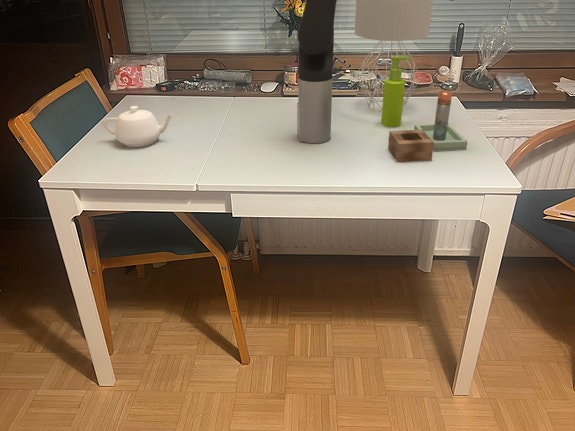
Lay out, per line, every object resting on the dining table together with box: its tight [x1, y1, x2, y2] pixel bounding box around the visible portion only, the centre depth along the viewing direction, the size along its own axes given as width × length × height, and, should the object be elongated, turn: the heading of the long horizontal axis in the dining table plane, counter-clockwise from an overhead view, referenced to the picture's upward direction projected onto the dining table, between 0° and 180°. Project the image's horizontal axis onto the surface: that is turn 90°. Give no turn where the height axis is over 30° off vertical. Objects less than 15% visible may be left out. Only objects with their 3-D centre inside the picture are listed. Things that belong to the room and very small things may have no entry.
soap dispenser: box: [380, 55, 412, 128], centre depth 156 cm, size 6×7×20 cm
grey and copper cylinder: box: [433, 90, 453, 141], centre depth 145 cm, size 4×4×13 cm
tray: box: [413, 122, 468, 153], centre depth 148 cm, size 10×14×2 cm
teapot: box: [101, 105, 174, 148], centre depth 149 cm, size 20×12×10 cm, turn 90°
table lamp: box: [354, 0, 434, 112], centre depth 165 cm, size 22×22×40 cm
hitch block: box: [387, 129, 434, 163], centre depth 139 cm, size 9×9×5 cm
